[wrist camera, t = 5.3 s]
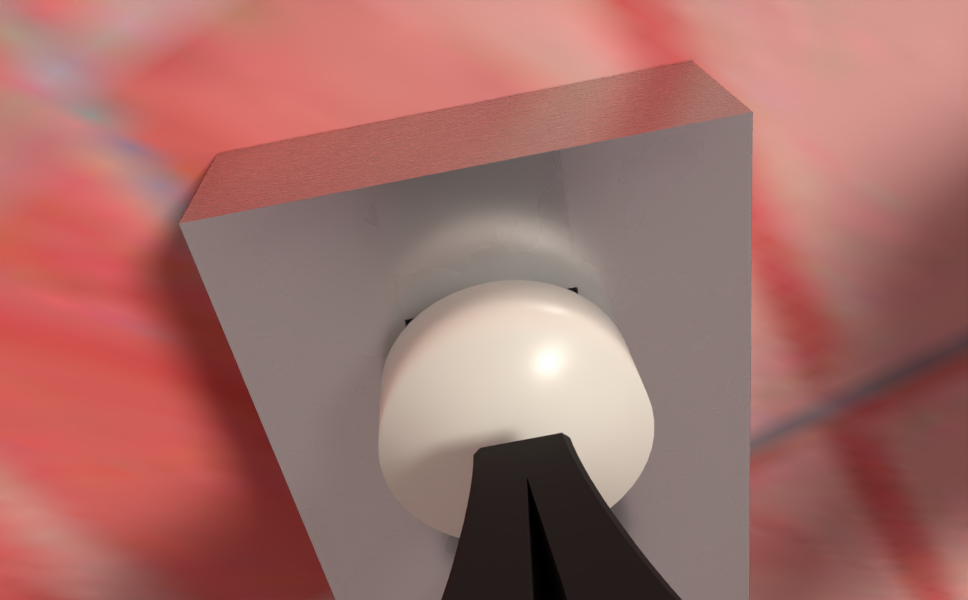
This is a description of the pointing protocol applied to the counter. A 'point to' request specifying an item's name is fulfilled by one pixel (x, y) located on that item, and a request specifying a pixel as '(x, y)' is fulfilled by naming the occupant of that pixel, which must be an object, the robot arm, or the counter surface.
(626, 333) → the panel
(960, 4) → the counter surface
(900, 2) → the counter surface
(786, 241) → the counter surface
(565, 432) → the button ivory
